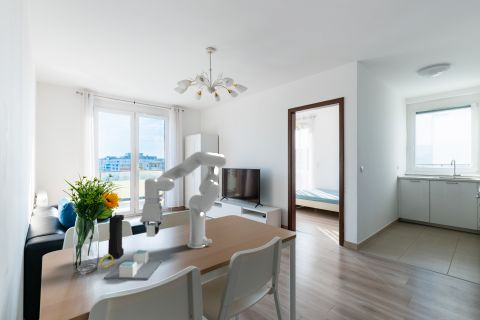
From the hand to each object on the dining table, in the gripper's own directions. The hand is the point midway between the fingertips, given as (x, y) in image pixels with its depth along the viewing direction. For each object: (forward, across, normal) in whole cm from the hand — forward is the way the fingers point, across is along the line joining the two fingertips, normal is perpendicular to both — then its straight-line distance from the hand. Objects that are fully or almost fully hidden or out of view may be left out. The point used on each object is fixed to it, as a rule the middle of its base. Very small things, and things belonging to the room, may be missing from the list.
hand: (152, 233), depth 127 cm
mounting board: (+13, +2, +16) cm, 20 cm away
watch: (+13, +18, +12) cm, 26 cm away
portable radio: (+13, +20, 0) cm, 24 cm away
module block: (+1, 0, 0) cm, 1 cm away
